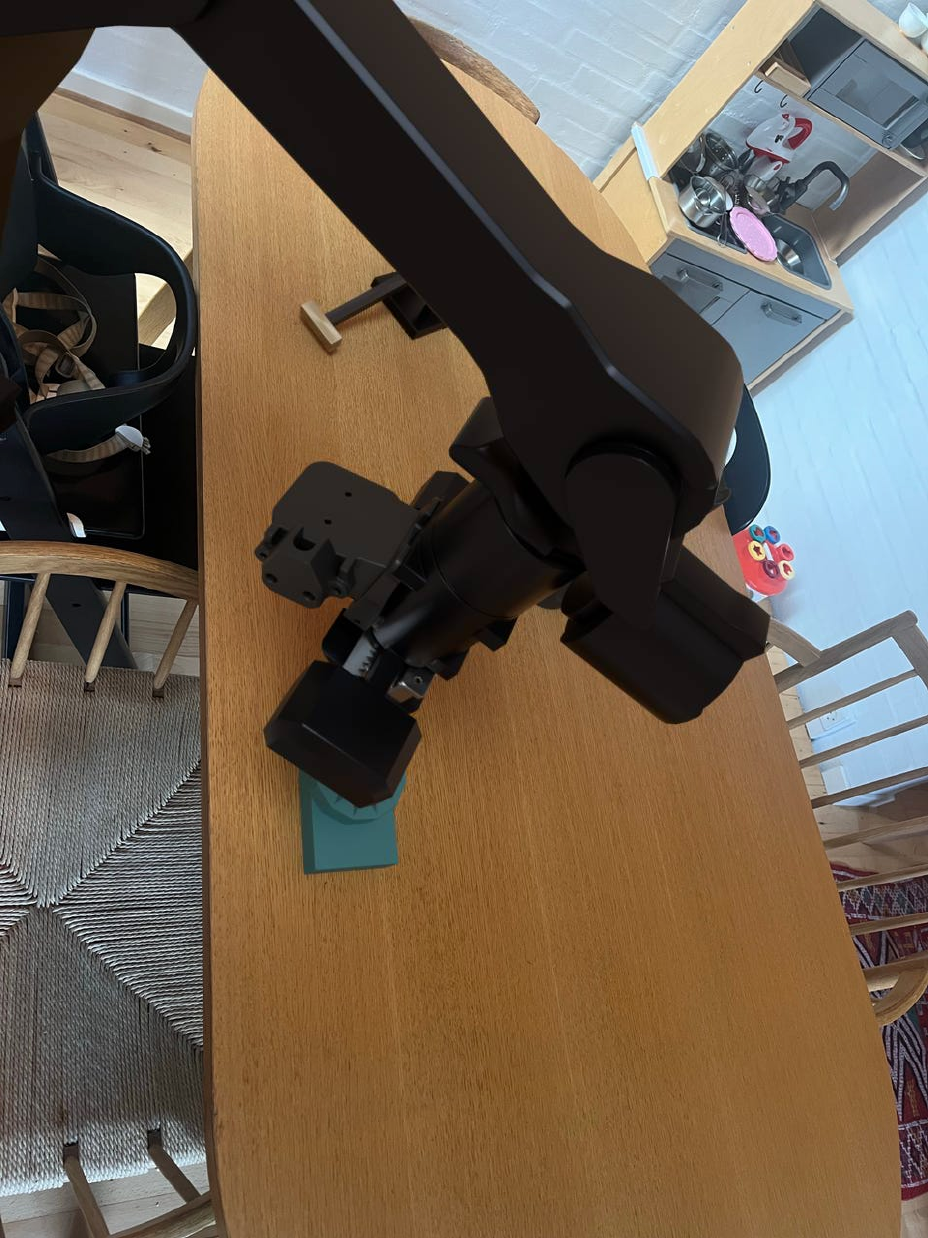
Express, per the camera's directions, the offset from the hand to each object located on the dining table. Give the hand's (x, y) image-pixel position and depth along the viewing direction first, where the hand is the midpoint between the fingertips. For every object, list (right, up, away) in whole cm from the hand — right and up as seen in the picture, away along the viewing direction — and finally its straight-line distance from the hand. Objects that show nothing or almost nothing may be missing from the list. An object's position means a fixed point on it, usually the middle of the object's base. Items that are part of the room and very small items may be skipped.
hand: (342, 674), depth 45 cm
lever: (0, +34, +28) cm, 45 cm away
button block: (-2, -9, +9) cm, 13 cm away
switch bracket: (+2, +36, +35) cm, 51 cm away
